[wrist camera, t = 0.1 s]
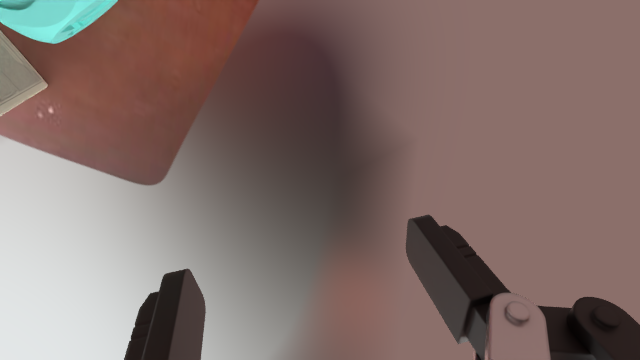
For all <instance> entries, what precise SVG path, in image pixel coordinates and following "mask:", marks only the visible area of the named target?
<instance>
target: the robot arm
mask: <svg viewBox="0 0 640 360" xmlns="http://www.w3.org/2000/svg"><path fill="white" fill-rule="evenodd" d="M406 253H407V257H408V260H409V262H410V264H411V266H412V267H413V269H414V271H415V272H416V274H417V276H418V277H419V279H420V281H421V283H422V284H423V286H424V288H425V289H426V291H427V293H428V294H429V296H430V298H431V299H432V301H433V302H434V304H435V306H436V308H437V309H438V311H439V313H440V314H441V316H442V318H443V319H444V321H445V323H446V324H447V326H448V328H449V330H450V331H451V333H452V334H453V336H454V338H455V340H456V341H457V343H458V344H459V343H463V342H467V341H470V343H471V345H472V346H473V348H474V354H473V360H640V325H639V324H638V323H637V322H636V321H635V320H634V319H633V318H632V317H631V316H630V315H628V314H627V313H626V312H625V311H624V310H623V309H621V308H620V307H618V306H616V305H615V304H613V303H611V302H608V301H606V300H603V299H599V298H594V297H583V298H580V299H579V300H577V301H576V302H575V304H574V305H573V307H572V308H561V307H544V306H537V305H535V304H534V303H533V302H531V301H530V300H529V299H527V298H525V297H523V296H521V295H517V294H514V293H511V292H510V291H509V290H508V289H507V288H506V287H505V286H504V285H503V284H502V282H501V281H500V280H499V279H498V278H497V277H496V276H495V274H494V273H493V272H492V271H491V270H490V269H489V267H488V266H487V265H486V264H485V263H484V261H483V260H482V259H481V258H480V257H479V256H477V255H476V252H475V251H474V250H473V249H472V248H471V246H470V247H469V244H468V243H467V242H466V241H465V239H464V238H463V237H462V236H461V235H460V234H459V233H458V232H456V231H455V230H453V229H451V228H449V227H448V226H446V225H445V226H441V227H440V226H439V225H438V224H437V222H436V221H435V220H434V219H433V218H432V216H430V215H425V216H421V217H416V218H412V219H409V221H408V226H407V240H406ZM204 321H205V301H204V297H203V294H202V293H201V290H200V288H199V287H198V284H197V283H196V280H195V278H194V276H193V275H192V272H191V271H190V270H189V269H184V270H180V271H176V272H171V273H167V274H165V275H164V276H163V279H162V282H161V287H160V290H159V292H154V293H150V295H149V296H148V298H147V299H146V300H145V302H144V303H143V304H142V306H141V307H140V309H139V312H138V316H137V319H136V322H135V327H134V329H133V332H132V335H131V341H129V345H128V348H127V351H126V355H125V358H124V360H201V350H202V341H203V331H204Z"/></svg>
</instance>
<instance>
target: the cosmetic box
mask: <svg viewBox="0 0 640 360" xmlns="http://www.w3.org/2000/svg"><path fill="white" fill-rule="evenodd" d="M47 87H48V84H47V83H46V82H45V81H44V79H43V78H42V77H41V76H40V75H39V73H38V72H37V71H36V70H35V69H34V68H33V67H32V65H31V64H30V63H29V62H28V61H27V60H26V59H25V57H24V56H23V55H22V54H21V53H20V52H19V50H18V49H17V48H16V47H15V46H14V45H13V44H12V42H11V41H10V40H9V39H8V38H7V37H6V36H5V35H4V34H3V33H2V32H1V30H0V116H2V115H3V114H5V113H6V112H8V111H10V110H11V109H13V108H14V107H16V106H18V105H19V104H21V103H22V102H24V101H26V100H27V99H29V98H31V97H32V96H34V95H35V94H37V93H39V92H40V91H42V90H43V89H45V88H47Z"/></svg>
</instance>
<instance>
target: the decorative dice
mask: <svg viewBox="0 0 640 360" xmlns="http://www.w3.org/2000/svg"><path fill="white" fill-rule="evenodd" d="M117 1H118V0H0V22H1V23H2V24H4V25H6V26H7V27H9V28H11V29H13V30H14V31H16V32H18V33H20V34H22V35H24V36H27V37H29V38H32V39H34V40H38V41H41V42H47V43H53V44H56V43H59V42H62V41H64V40H66V39H68V38H70V37H71V36H73V35H75V34H76V33H78V32H80V31H81V30H83V29H84V28H86V27H87V26H88V25H90V24H91V23H93V22H94V21H95V20H96V19H98V18H99V17H100V16H102V15H103V14H104V13H105V12H106V11H107V10H109V9H110V8H111V7H112V6H113V5H114V4H115V3H116V2H117Z"/></svg>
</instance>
